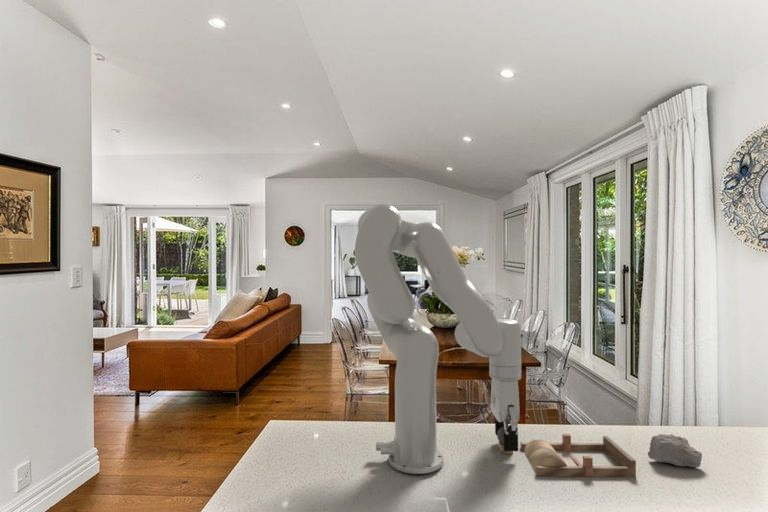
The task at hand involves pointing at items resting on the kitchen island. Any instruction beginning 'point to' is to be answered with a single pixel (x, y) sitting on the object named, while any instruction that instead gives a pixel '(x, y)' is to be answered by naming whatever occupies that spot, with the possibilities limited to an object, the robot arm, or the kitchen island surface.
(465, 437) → the kitchen island surface
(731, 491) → the kitchen island surface
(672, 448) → the stone
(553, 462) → the wooden roller rack
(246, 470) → the kitchen island surface
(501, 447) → the tee
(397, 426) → the robot arm
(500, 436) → the ball
